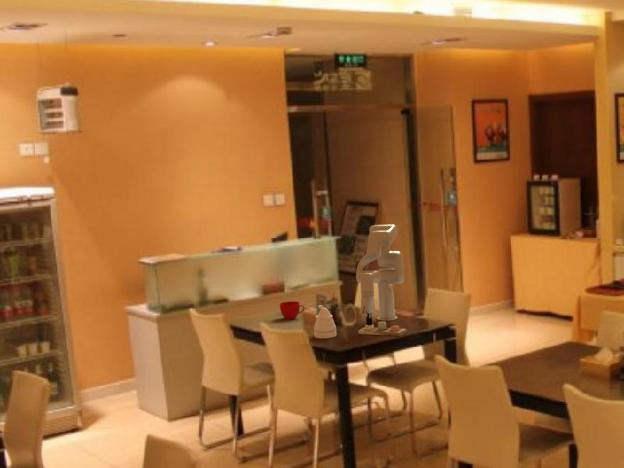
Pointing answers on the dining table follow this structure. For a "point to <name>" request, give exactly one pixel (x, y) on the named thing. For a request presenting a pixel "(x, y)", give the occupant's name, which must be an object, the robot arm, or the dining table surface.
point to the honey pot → (324, 324)
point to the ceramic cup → (290, 309)
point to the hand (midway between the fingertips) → (369, 324)
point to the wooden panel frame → (382, 331)
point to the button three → (395, 328)
